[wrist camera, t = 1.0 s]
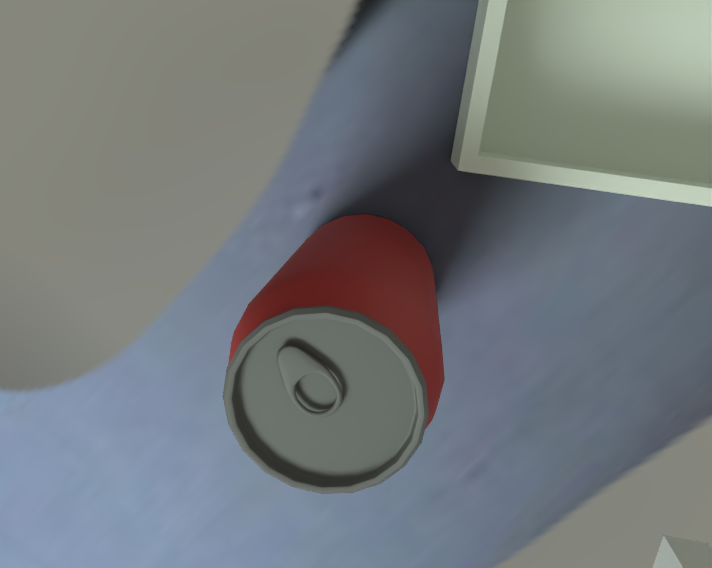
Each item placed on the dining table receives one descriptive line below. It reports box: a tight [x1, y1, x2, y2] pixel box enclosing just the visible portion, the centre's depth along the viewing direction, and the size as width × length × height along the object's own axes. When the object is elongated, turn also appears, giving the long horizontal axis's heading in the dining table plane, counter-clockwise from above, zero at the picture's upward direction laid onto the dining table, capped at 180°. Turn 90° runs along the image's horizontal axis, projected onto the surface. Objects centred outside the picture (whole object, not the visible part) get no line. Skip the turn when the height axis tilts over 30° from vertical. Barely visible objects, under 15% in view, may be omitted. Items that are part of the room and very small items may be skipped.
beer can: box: [223, 214, 444, 494], centre depth 21 cm, size 7×7×12 cm
